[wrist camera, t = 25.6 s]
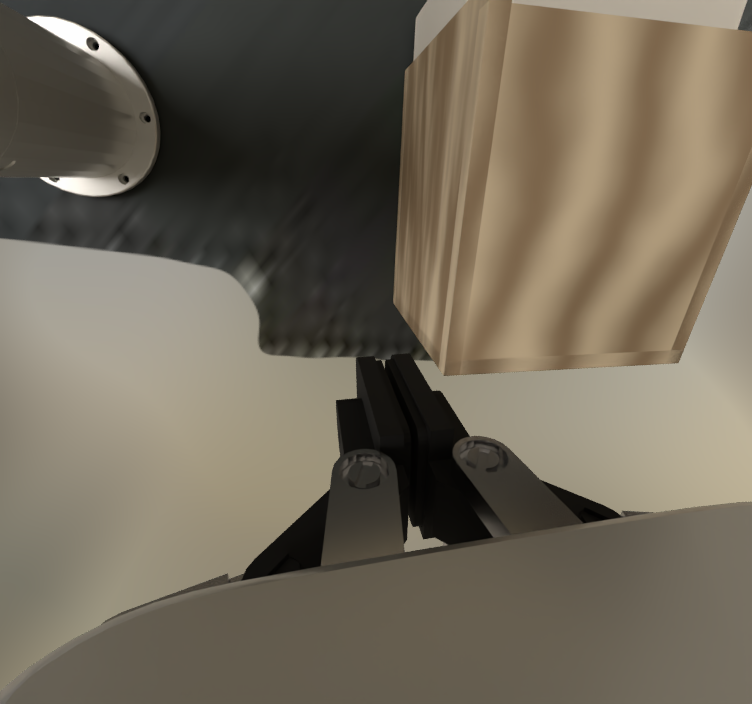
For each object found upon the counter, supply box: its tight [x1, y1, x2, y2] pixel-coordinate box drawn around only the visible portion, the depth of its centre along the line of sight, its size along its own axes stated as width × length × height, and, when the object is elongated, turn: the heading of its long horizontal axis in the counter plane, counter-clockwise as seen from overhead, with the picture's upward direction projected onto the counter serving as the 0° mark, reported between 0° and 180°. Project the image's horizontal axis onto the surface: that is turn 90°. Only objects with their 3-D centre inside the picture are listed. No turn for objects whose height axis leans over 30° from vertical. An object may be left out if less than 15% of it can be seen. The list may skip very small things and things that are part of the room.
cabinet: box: [393, 0, 752, 376], centre depth 32 cm, size 20×22×18 cm
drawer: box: [413, 0, 747, 61], centre depth 32 cm, size 19×24×12 cm
